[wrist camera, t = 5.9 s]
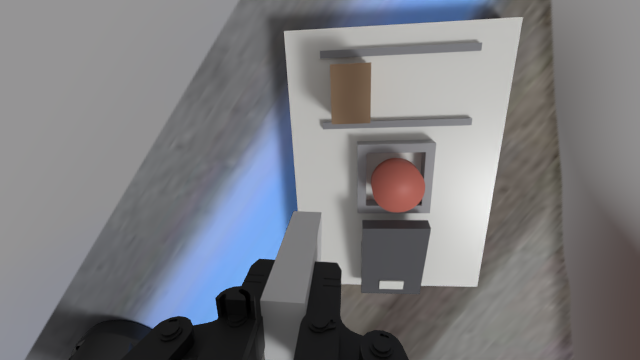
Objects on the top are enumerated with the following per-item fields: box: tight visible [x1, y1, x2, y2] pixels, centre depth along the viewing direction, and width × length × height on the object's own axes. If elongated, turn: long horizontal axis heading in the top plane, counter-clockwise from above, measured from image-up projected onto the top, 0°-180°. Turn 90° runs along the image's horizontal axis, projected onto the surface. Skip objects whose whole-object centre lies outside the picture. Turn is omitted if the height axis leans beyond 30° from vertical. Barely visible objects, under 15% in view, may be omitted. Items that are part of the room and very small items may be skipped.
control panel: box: [284, 17, 523, 287], centre depth 30 cm, size 19×26×4 cm
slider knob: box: [330, 62, 371, 124], centre depth 25 cm, size 3×4×4 cm
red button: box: [371, 158, 425, 212], centre depth 27 cm, size 4×4×2 cm
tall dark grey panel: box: [361, 220, 431, 294], centre depth 30 cm, size 6×9×1 cm, turn 3°
